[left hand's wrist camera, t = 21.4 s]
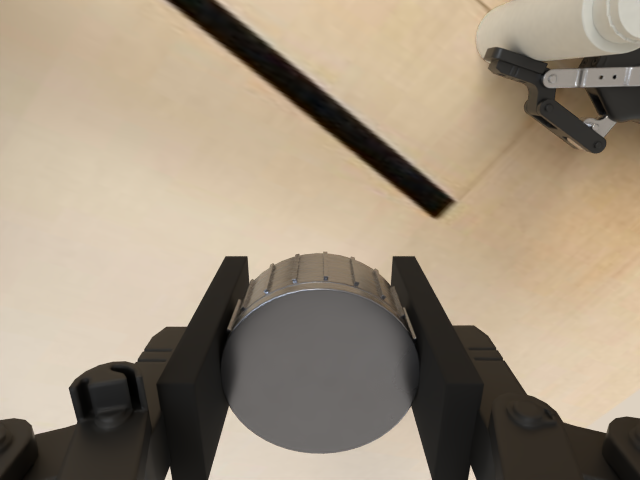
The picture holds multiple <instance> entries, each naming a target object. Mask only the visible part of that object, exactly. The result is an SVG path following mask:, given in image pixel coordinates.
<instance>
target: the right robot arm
mask: <svg viewBox="0 0 640 480" xmlns="http://www.w3.org/2000/svg"><path fill="white" fill-rule="evenodd" d="M483 59H484V60H486V61H489V62H491V63H490V65H489V68H488V69H489V70H490V71H491V72H492V73H493V74H496V75H499V76H502V77H505V78H508V79H511V80H514V81H517V82H520V83H523V84H525V85H526V86H527V87H528V90H529V96H528V100H527V101H526V103H525V105H524V110H525V112H526V113H527V114H528V115H530V116H531V117H532V118H534V119H535V120H537V121H538V122H539V123H541V124H542V125H543V126H545V127H546V128H547V129H549V130H550V131H551V132H553V133H554V134H555V135H557V136H558V137H559V138H561V139H562V140H563V141H565V142H566V143H567V144H569V145H570V146H572V147H573V148H575V149H579V150H583V151H587V152H591V153H600V152H601V151H603V150H604V148H605V146H606V140H605V138H604V137H605V135H606V134H607V133H608V132H609V131H610V130H611V128H612V127H613V126H614V125H615V124H616V122H626V121H634V122H637V123H640V48H638V49H636V50H634V51H631V52H627V53H623V54H612V55H602V56H592V57H584V58H583V60H582V62H581V64H580V66H579V68H578V69H549V68H546V66H547V63H544V62H541V61H539V60H535V59H532V58H530V57H527V56H524V55H521V54H518V53H515V52H512V51H510V50H507V49H504V48H500V47H492V48H488V49H487V51H486V53H485V56H484V58H483ZM573 87H585V89H586V91H587V93H588V95H589V97H590V99H591V101H592V103H593V105H594V107H595V109H596V111H597V113H598V114H599V116H598V117H596V118H588V117H581V118H577V117H576V116H575V115H573V114H572V113H571V112H569V111H568V110H567V109H565V108H564V107H563V106H562V105H560V104H559V103H558V102H556V101H555V92H556V88H573Z"/></svg>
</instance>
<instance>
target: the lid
mask: <svg viewBox="0 0 640 480" xmlns="http://www.w3.org/2000/svg"><path fill="white" fill-rule="evenodd" d="M226 332H227V333H229V334H228V336H227V339H226V342H225V345H224V347H223V351H222V355H221V359H220V374H221V384H222V390H223V393H224V396H225V398H226V401H227V403H228V404H229V406H230V408H231V410H232V411H233V413H234V414H235V415H236V416H237V418H238V419H239V420H240V421H241V422H242V423H243V424H244V425H245V426H246V427H247V428H248V429H249V430H251V431H252V432H253V433H255V434H256V435H258V436H259V437H261V438H263V439H264V440H266V441H268V442H270V443H272V444H275V445H277V446H280V447H283V448H286V449H289V450H294V451H298V452H305V453H322V454H324V453H336V452H342V451H347V450H351V449H354V448H358V447H361V446H363V445H366V444H368V443H370V442H372V441H374V440H376V439H378V438H380V437H381V436H383V435H384V434H385V433H387V432H388V431H390V430H391V429H392V428H393V427H394V426H395V425H396V424H398V423H399V421H400V420H401V419H402V418H403V417H404V416H405V414H406V413H407V411H408V410H409V408H410V407H411V405H412V403H413V401H414V399H415V397H416V394H417V390H418V386H419V377H420V359H419V353H418V350H417V347H416V344H415V342H416V341H417V338H416V335H415V332H414V330H413V327H412V324H411V322H410V319H409V317H408V314H407V311H406V309H405V307H404V308H403V307H402V304H401V302H400V299H399V296H398V293H397V291H396V288H395V287H394V286H393V287H391V286H390V284H389V283H388V282H387V281H386V280H385V279H384V278H383V277H382V276H381V275H380V274H379V272H378V270H377V269H374V270H373V269H372V268H370V267H368V266H367V265H365V264H363V263H361V262H359V261H356V260H355V258H354V257H351V258H348V257H344V256H340V255H334V254H327V252H323V254H320V253H316V254H305V255H301V256H300V255H299V254H296V255H295V257H292V258H289V259H287V260H284V261H281V262H279V263H277V264H275V265H274V264H271V265H270V268H269V269H267V270H266V271H264V272H263V273H262V274H261V275H260V276H258V277H257V278H256V279H255V280H253V279H252V280H251V281H250V283H249V286H248V289H247V290H246V292H245V294H244V295H243V297H242V299H241V300H240V299H238V301H237V304H236V306H235V309H234V312H233V314H232V317H231V320H230V322H229V325H228V328H227V330H226Z"/></svg>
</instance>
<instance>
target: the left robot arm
mask: <svg viewBox="0 0 640 480" xmlns="http://www.w3.org/2000/svg"><path fill="white" fill-rule="evenodd" d="M248 286H249V273H248V258H247V256H226V257H225V258H224V260H223V262H222V264H221V266H220V268H219V269H218V271H217V273H216V275H215V277H214V279H213V280H212V282H211V284H210V286H209V288H208V290H207V291H206V293H205V295H204V297H203V299H202V301H201V302H200V304H199V306H198V308H197V310H196V312H195V313H194V315H193V317H192V319H191V321H190V323H189V324H188V326H187V327H166V328H164V329H163V330H162V331H160V332H159V333H157V334H156V335H155V336H153V337H152V339H151V340H150V342H149V343H148V345H147V346H146V348H145V349H144V352H142V354H141V355H140V357H139V358H138V362H136V363H135V364H134V363H130V362H126V361H123V362H110V363H106V364H102V365H99V366H96V367H94V368H92V369H90V370H88V371H86V372H84V373H83V374H82V375H80V376H79V377H78V378H76V379H75V380H74V382H73V383H72V384H71V386H70V387H69V391H70V395H71V399H72V403H73V406H74V410H75V414H76V418H77V424H76V425H73V426H69V427H66V428H62V429H58V430H53V431H49V432H45V433H40V434H36V435H34V432H33V429H32V425H30V424H29V423H28V422H27V421H26V420H22V419H16V418H12V419H5V420H0V480H165V477H166V475H167V472H168V469H169V467H170V469H171V475H172V480H208V478H209V475H210V471H211V467H212V464H213V460H214V457H215V453H216V450H217V446H218V443H219V439H220V436H221V432H222V428H223V425H224V421H225V418H226V414H227V411H228V407H229V404H228V403H227V401H226V398H225V396H224V393H223V390H222V384H221V374H220V359H221V355H222V351H223V347H224V345H225V342H226V339H227V336H228V334H229V333H227V332H226V330H227V328H228V325H229V322H230V320H231V317H232V314H233V312H234V309H235V306H236V304H237V301H238V299H240V300H241V299H242V297H243V295H244V294H245V292H246V290H247V289H248ZM393 286H394V287H395V288H396V291H397V293H398V296H399V299H400V302H401V304H402V307H403V308H404V307H405V309H406V311H407V314H408V317H409V319H410V322H411V324H412V327H413V330H414V332H415V335H416V338H417V341H416V342H415V344H416V347H417V350H418V353H419V359H420V377H419V386H418V390H417V394H416V397H415V399H414V401H413V403H412V405H411V406H412V410H413V413H414V417H415V421H416V424H417V428H418V431H419V435H420V438H421V442H422V445H423V449H424V452H425V456H426V459H427V463H428V467H429V470H430V474H431V477H432V480H468V476H469V470H470V464H471V467H472V469H473V472H474V474H475V477H476V479H477V480H640V418H633V417H621V418H616V419H614V420H613V421H612V422H611V423H610V424H609V427H608V430H607V433H603V432H599V431H594V430H590V429H586V428H581V427H577V426H573V425H570V424H567V423H564V422H563V421H562V420H561V418H560V417H559V415H558V413H557V412H556V411H555V410H554V409H553V408H551V407H550V406H549V405H548V404H547V403H545V402H543V401H541V400H539V399H537V398H535V397H533V396H529V395H527V394H526V392H525V391H524V389H523V388H522V386H521V385H520V383H519V382H518V380H517V379H516V377H515V376H514V374H513V373H512V371H511V370H510V368H509V367H508V365H507V364H506V362H505V361H503V358H502V356H501V355H500V353H499V352H498V350H496V347H495V346H494V344H493V343H492V341H491V340H490V338H489V337H488V335H486V334H485V333H483V332H482V331H481V330H479V329H478V328H477V327H475V326H452V324H451V322H450V320H449V319H448V317H447V315H446V313H445V311H444V309H443V308H442V306H441V304H440V302H439V300H438V298H437V297H436V295H435V293H434V291H433V289H432V287H431V286H430V284H429V282H428V280H427V278H426V276H425V275H424V273H423V271H422V269H421V267H420V265H419V264H418V262H417V260H416V258H415V256H393V261H392V276H391V287H393Z"/></svg>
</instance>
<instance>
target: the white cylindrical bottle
mask: <svg viewBox="0 0 640 480" xmlns="http://www.w3.org/2000/svg"><path fill="white" fill-rule="evenodd" d="M476 46H477V50H478V52H479V54H480V56H481V57H482V58H484V56H485V53H486V51H487V49H488V48H492V47H500V48H504V49H507V50H510V51H512V52H515V53H518V54H521V55H524V56H527V57H530V58H532V59H535V60H539V61H551V60H562V59H572V58H582V57H592V56H602V55H612V54H623V53H627V52H631V51H634V50H636V49H638V48H640V0H512V1H510V2H507V3H505V4H503V5H500V6H498V7H496V8H494V9H492V10H491V11H489V12H488V13H487V14H486V15H485V16H484V18H483V19H482V21H481V22H480V24H479V26H478V29H477V33H476ZM485 61H486V60H485ZM486 62H488V63H491V62H489V61H486Z"/></svg>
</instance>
